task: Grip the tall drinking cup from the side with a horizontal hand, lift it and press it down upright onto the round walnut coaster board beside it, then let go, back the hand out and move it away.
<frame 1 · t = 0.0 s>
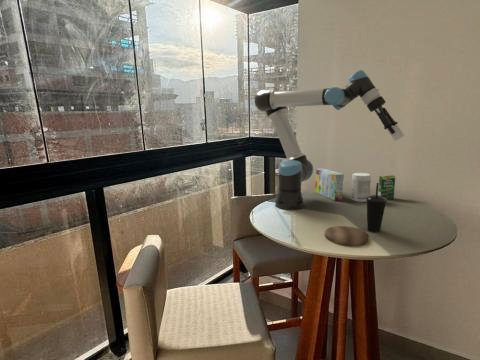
hand: (400, 138, 133), 36 cm above the table, tool tilted 35°, fingers open, 13 cm apart
supplement tub: (359, 200, 164), on the table
snack box: (327, 196, 173), on the table
drinking cup: (373, 230, 121), on the table
coaster board: (346, 237, 114), on the table
coffee box: (385, 198, 166), on the table
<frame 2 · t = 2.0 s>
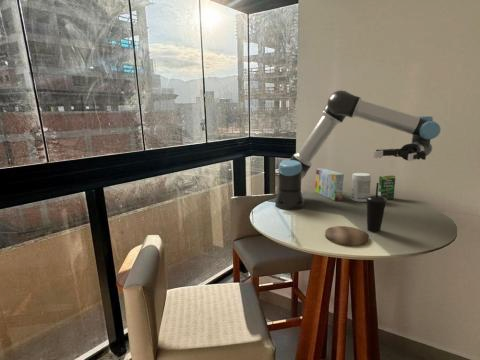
hand: (391, 156, 121), 30 cm above the table, tool horizontal, fingers open, 13 cm apart
nothing on the table moved.
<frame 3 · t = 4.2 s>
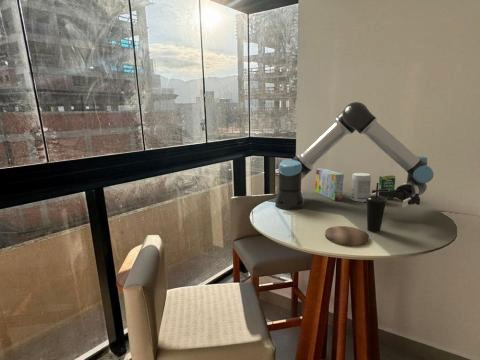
hand: (386, 200, 124), 11 cm above the table, tool horizontal, fingers open, 13 cm apart
nothing on the table moved.
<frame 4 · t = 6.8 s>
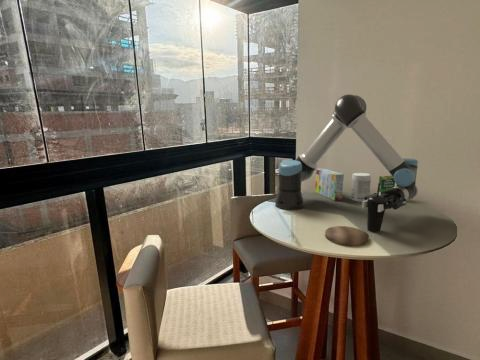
hand: (370, 206, 116), 11 cm above the table, tool horizontal, fingers closed on drinking cup, 6 cm apart
drinking cup: (373, 230, 121), on the table, touching gripper
everything else where it was.
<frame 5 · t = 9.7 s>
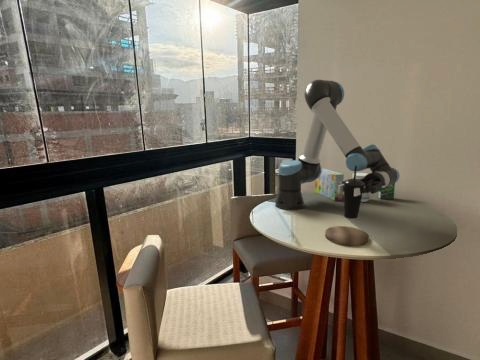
hand: (346, 190, 108), 19 cm above the table, tool horizontal, fingers closed on drinking cup, 6 cm apart
drinking cup: (350, 216, 113), point 8 cm above the table, touching gripper
everything else where it was.
when the fingers open (12 cm above the table, at t = 12.8 s): drinking cup stays where it is, resting on coaster board.
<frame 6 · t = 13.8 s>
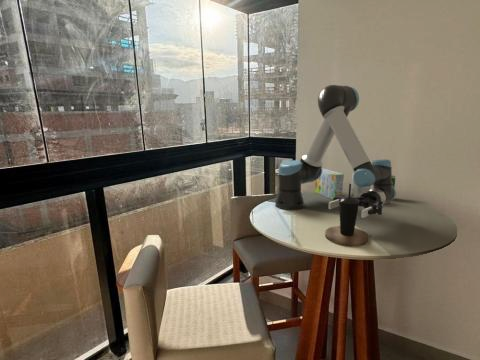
hand: (345, 209, 110), 12 cm above the table, tool horizontal, fingers open, 13 cm apart
drinking cup: (346, 234, 114), point 1 cm above the table, touching coaster board
everything else where it was.
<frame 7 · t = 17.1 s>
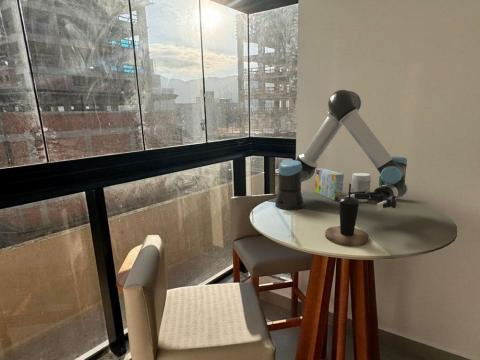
hand: (361, 203, 118), 12 cm above the table, tool horizontal, fingers open, 13 cm apart
nothing on the table moved.
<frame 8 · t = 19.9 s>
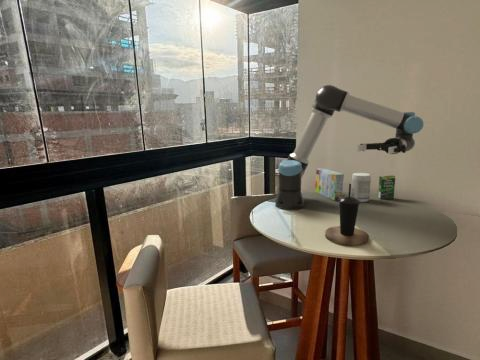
hand: (373, 149, 126), 32 cm above the table, tool horizontal, fingers open, 13 cm apart
nothing on the table moved.
at the end: drinking cup inside the target area on the coaster board (0.1 cm from its centre), point 1.3 cm above the coaster board's base; drinking cup tilted 0°; the gripper is holding nothing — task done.
